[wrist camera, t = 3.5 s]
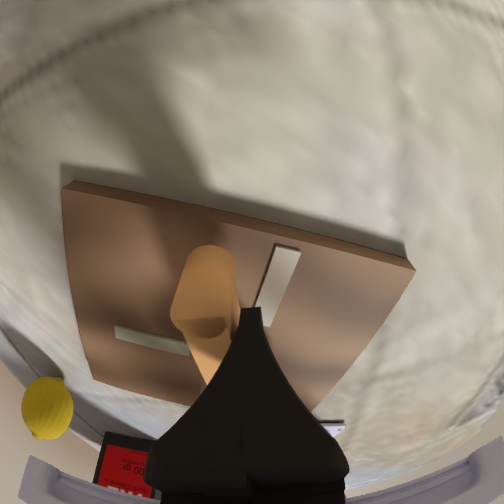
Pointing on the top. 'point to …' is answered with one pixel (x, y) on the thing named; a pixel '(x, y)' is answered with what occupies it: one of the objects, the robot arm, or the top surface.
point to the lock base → (246, 284)
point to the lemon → (47, 407)
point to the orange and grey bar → (207, 307)
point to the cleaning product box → (124, 465)
